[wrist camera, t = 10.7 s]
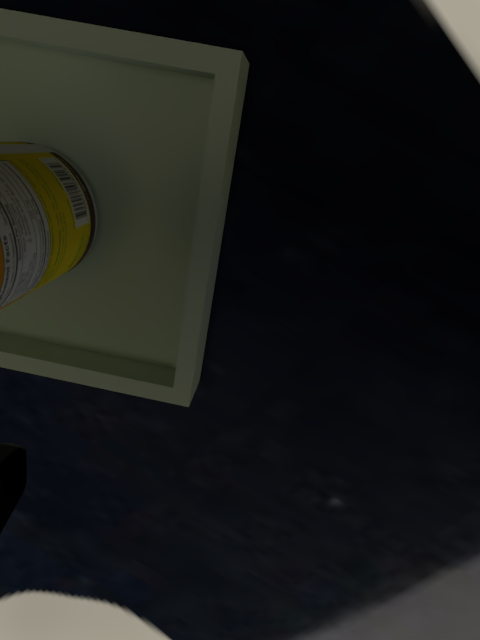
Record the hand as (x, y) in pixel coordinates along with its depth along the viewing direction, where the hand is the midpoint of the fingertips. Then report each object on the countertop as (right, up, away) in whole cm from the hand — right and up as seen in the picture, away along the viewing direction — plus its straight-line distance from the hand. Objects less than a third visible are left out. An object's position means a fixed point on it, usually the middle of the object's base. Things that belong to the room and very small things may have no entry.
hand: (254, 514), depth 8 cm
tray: (-9, +9, +12) cm, 17 cm away
